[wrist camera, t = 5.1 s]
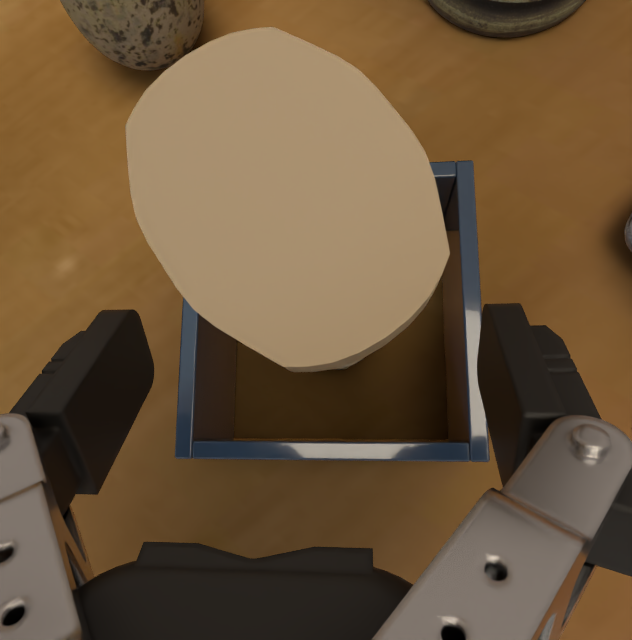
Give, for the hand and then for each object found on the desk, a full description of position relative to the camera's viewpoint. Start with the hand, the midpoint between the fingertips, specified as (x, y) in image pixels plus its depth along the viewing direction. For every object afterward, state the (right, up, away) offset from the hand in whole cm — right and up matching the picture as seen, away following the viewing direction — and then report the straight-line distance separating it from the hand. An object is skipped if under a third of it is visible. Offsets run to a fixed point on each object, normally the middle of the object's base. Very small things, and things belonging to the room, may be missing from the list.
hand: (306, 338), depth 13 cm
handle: (+1, 0, +11) cm, 11 cm away
